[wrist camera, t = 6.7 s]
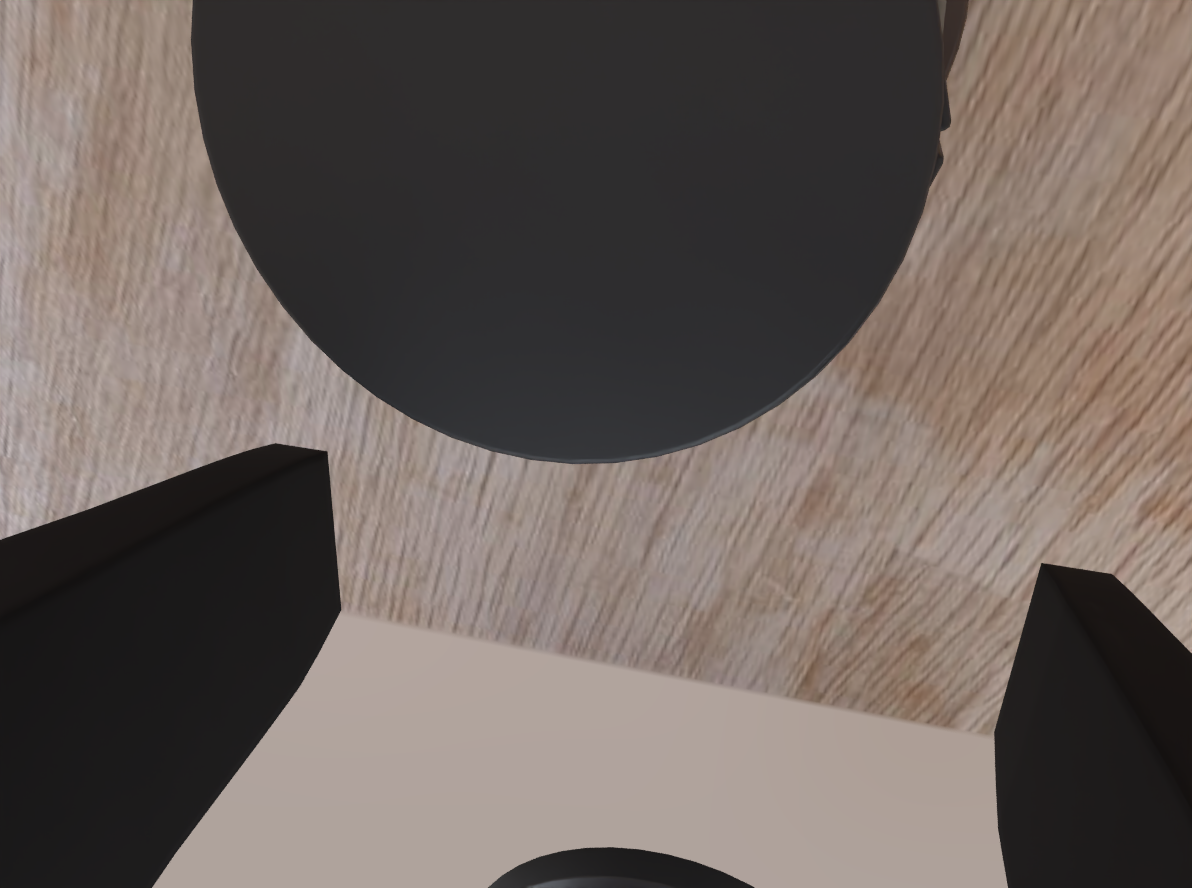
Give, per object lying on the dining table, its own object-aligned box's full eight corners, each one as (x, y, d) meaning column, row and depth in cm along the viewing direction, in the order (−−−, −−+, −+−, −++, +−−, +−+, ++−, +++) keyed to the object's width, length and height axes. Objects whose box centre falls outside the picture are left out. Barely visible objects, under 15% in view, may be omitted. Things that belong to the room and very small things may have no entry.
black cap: (882, 276, 13) (881, 518, 8) (469, 229, 14) (221, 413, 9) (970, -220, 11) (1055, -356, 5) (464, -235, 12) (121, -357, 6)
